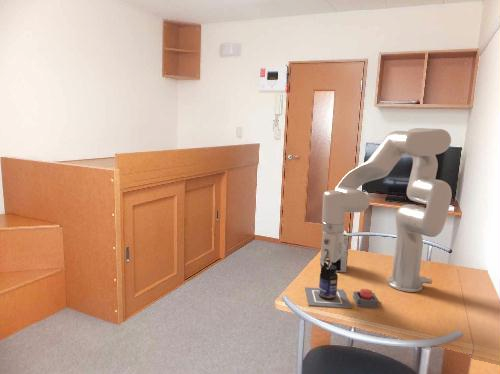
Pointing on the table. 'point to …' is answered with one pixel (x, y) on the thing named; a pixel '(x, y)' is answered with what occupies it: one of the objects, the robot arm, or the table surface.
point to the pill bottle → (329, 285)
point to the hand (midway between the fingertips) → (330, 274)
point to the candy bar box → (345, 255)
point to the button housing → (365, 300)
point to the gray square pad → (316, 300)
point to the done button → (366, 294)
